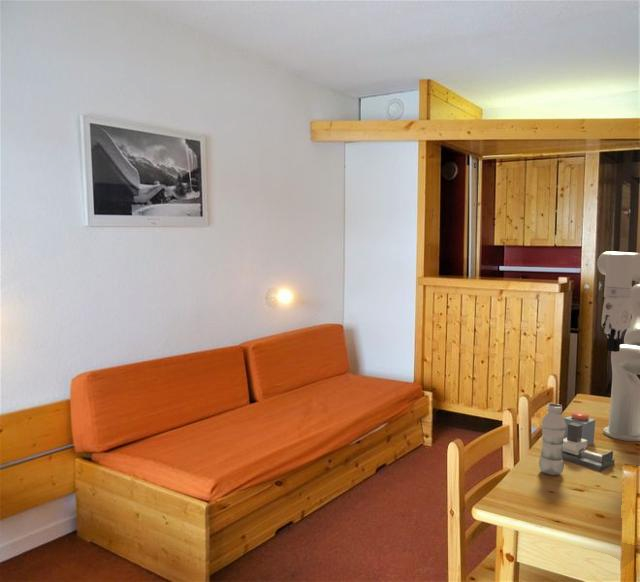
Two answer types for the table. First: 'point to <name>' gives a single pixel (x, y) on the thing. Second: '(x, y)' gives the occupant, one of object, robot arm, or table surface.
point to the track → (591, 459)
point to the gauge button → (580, 416)
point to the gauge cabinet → (583, 428)
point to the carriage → (574, 439)
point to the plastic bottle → (552, 441)
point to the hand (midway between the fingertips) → (613, 350)
